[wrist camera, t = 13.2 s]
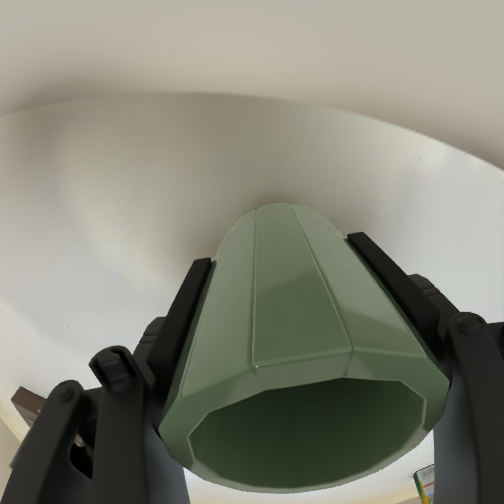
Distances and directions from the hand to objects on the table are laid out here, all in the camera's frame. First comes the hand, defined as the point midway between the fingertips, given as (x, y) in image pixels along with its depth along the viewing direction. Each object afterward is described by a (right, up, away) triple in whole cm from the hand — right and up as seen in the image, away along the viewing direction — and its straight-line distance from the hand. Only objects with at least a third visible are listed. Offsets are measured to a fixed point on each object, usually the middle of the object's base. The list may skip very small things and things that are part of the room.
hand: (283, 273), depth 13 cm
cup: (0, 0, 0) cm, 0 cm away
